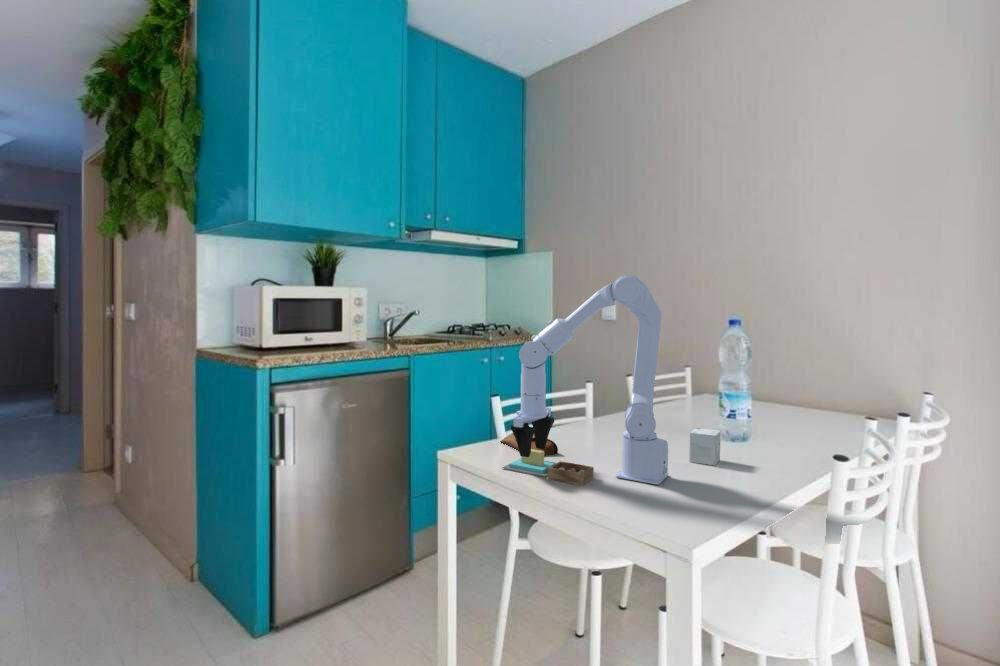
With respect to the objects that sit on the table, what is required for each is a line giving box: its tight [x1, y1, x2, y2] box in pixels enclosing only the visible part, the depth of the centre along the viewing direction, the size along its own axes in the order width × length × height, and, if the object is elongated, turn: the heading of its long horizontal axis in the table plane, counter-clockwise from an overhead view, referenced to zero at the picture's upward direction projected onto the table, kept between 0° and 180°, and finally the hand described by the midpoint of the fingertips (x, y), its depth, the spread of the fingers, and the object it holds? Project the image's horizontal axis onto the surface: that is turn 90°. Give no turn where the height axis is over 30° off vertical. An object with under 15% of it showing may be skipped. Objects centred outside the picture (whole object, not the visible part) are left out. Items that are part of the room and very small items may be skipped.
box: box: [547, 460, 595, 486], centre depth 115 cm, size 8×6×2 cm
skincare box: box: [688, 427, 721, 467], centre depth 129 cm, size 6×6×7 cm
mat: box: [501, 463, 548, 478], centre depth 122 cm, size 11×9×1 cm
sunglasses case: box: [499, 432, 559, 457], centre depth 140 cm, size 18×7×7 cm, turn 28°
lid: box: [508, 449, 557, 474], centre depth 122 cm, size 9×7×4 cm
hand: (532, 452), depth 122 cm, fingers open, 7 cm apart
